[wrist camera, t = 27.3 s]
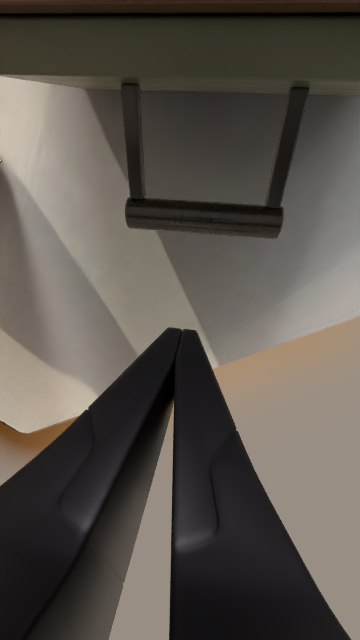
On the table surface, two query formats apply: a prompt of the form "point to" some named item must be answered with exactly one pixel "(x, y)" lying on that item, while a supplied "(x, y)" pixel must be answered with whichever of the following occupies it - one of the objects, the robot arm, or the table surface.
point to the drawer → (191, 86)
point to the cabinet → (179, 7)
